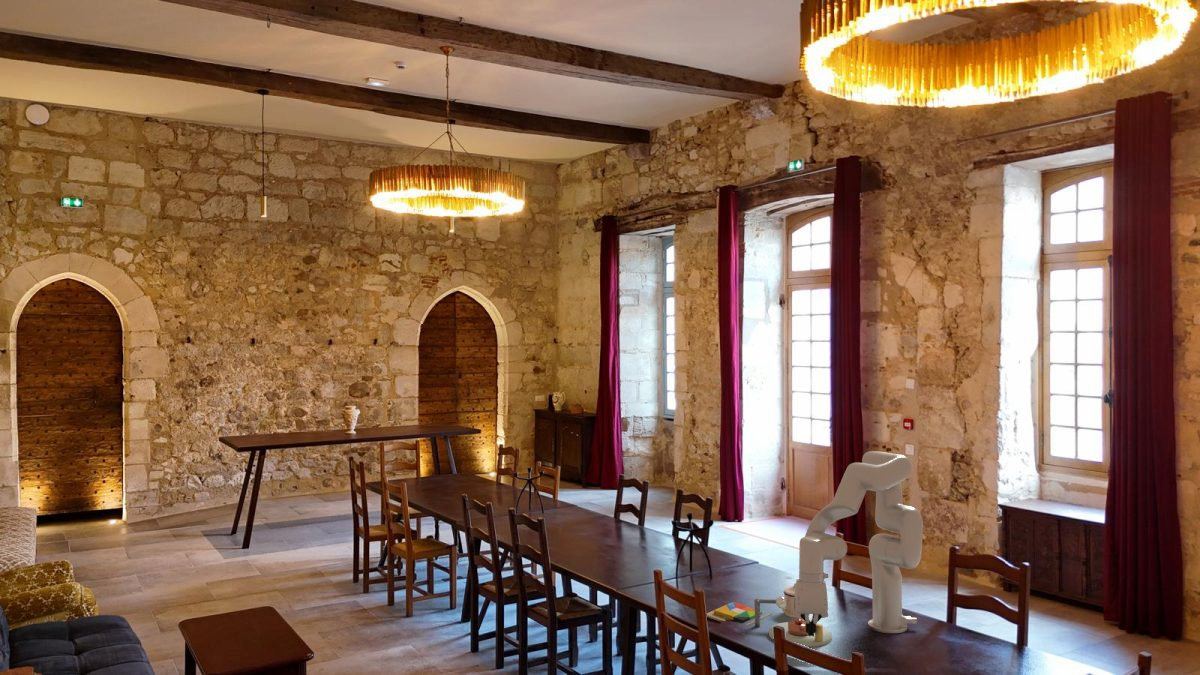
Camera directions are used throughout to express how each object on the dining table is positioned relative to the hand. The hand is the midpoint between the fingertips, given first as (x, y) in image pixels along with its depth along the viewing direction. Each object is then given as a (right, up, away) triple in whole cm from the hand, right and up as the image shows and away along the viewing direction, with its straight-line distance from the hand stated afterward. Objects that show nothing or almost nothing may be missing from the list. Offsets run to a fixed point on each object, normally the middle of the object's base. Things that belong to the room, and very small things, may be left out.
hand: (810, 634), depth 273 cm
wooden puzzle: (-18, -6, +32) cm, 37 cm away
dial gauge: (-10, -5, +20) cm, 22 cm away
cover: (-2, -3, +9) cm, 10 cm away
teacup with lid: (+2, -5, +32) cm, 32 cm away
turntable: (-1, -4, +10) cm, 10 cm away
